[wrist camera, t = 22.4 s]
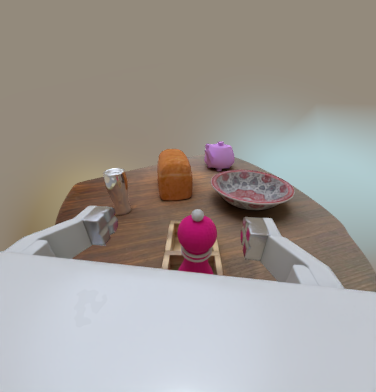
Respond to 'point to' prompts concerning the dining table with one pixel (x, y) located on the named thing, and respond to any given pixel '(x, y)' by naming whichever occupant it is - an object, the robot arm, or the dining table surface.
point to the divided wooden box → (175, 257)
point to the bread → (174, 175)
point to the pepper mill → (196, 242)
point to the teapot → (219, 156)
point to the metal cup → (118, 189)
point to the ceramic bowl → (252, 189)
